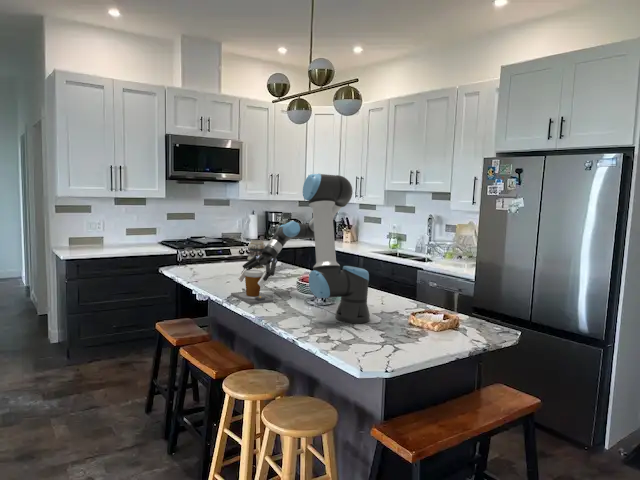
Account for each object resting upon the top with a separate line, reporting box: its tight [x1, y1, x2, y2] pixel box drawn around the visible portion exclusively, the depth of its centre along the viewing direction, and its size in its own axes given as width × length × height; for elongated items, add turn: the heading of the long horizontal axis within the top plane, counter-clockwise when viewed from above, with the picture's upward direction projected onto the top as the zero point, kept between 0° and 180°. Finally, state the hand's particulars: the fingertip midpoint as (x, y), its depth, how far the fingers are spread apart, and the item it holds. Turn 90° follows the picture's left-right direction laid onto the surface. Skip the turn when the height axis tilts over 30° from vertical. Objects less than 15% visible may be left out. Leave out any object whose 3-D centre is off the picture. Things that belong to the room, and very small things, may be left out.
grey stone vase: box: [247, 239, 266, 269], centre depth 326 cm, size 12×12×18 cm
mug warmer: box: [230, 291, 275, 306], centre depth 239 cm, size 20×13×3 cm, turn 37°
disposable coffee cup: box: [244, 269, 264, 297], centre depth 239 cm, size 10×10×12 cm
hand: (249, 282), depth 237 cm, fingers open, 13 cm apart
